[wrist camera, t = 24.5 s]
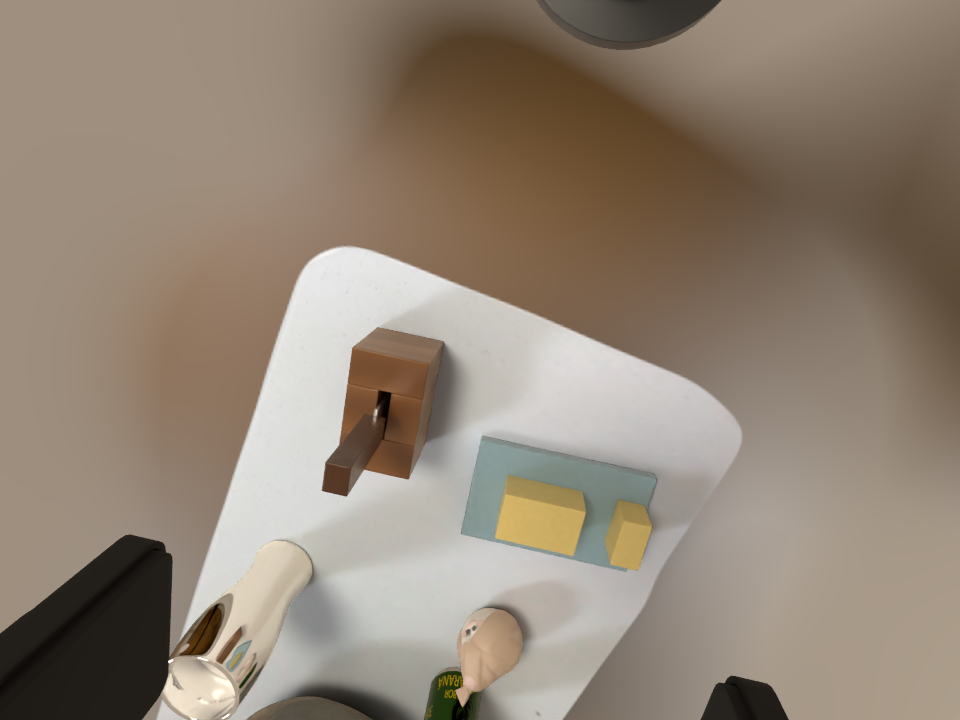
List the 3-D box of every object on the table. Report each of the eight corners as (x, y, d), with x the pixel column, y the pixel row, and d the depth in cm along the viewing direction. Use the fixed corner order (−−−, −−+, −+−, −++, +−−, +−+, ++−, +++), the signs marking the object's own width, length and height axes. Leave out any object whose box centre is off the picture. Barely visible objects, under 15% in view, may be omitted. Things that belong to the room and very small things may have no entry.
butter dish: (481, 435, 49) (481, 440, 49) (654, 473, 49) (657, 479, 48) (461, 528, 52) (460, 534, 51) (624, 565, 52) (626, 572, 51)
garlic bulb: (453, 600, 55) (440, 664, 47) (514, 590, 54) (511, 654, 46) (469, 652, 56) (459, 722, 49) (529, 644, 55) (529, 715, 48)
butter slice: (617, 498, 49) (623, 520, 46) (644, 505, 49) (652, 527, 45) (604, 540, 50) (609, 564, 47) (631, 546, 50) (638, 571, 47)
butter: (507, 474, 49) (505, 494, 46) (582, 491, 49) (586, 512, 46) (497, 516, 51) (494, 538, 47) (570, 533, 50) (573, 556, 47)
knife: (395, 371, 49) (325, 454, 32) (412, 375, 48) (351, 460, 32) (390, 401, 49) (320, 498, 33) (407, 405, 49) (345, 504, 33)
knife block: (377, 326, 48) (352, 346, 41) (444, 341, 47) (429, 363, 41) (362, 429, 50) (336, 463, 44) (425, 443, 50) (408, 480, 44)
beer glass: (315, 539, 54) (237, 659, 40) (319, 597, 56) (245, 731, 42) (248, 533, 55) (148, 649, 41) (254, 590, 57) (160, 721, 42)
